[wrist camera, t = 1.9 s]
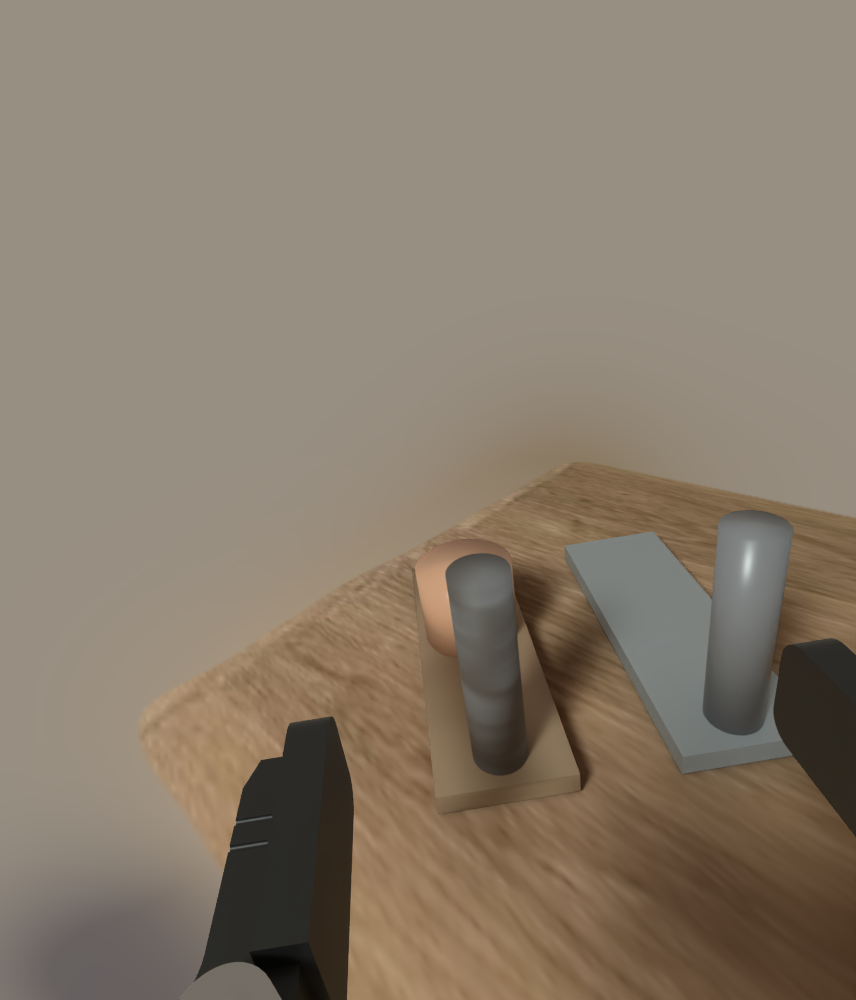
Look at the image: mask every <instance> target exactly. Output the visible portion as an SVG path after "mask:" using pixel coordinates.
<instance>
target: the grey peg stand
mask: <svg viewBox="0 0 856 1000" xmlns="http://www.w3.org/2000/svg"><path fill="white" fill-rule="evenodd" d="M792 535H793V527H792V525H791V524H790V523H789V522H788V521H787V520H785V519H784V518H782V517H780V516H777V515H775V514H772V513H768V512H763V511H754V510H743V511H735V512H731V513H728V514H726V515H724V516H723V517H722V518H721V519H720V520H719V525H718V537H717V548H716V559H715V571H714V582H713V593H712V599H711V598H710V597H709V596H708V595H707V593H706V592H705V591H704V590H703V589H702V588H701V586H700V585H699V584H698V583H697V582H696V581H695V579H694V578H693V577H692V576H691V575H690V574H689V572H688V571H687V570H686V569H685V568H684V567H683V565H682V564H681V563H680V562H679V561H678V560H677V558H676V557H675V556H674V555H673V554H672V553H671V552H670V550H669V549H668V548H667V547H666V546H665V545H664V543H663V542H662V541H661V540H660V539H659V538H658V536H657V535H656V534H655V533H654V532H647V533H641V534H634V535H628V536H622V537H616V538H610V539H604V540H597V541H591V542H585V543H579V544H573V545H567V546H565V559H566V561H567V563H568V565H569V567H570V569H571V570H572V572H573V574H574V576H575V578H576V580H577V581H578V583H579V585H580V587H581V589H582V591H583V593H584V594H585V596H586V598H587V600H588V602H589V604H590V605H591V607H592V609H593V611H594V613H595V615H596V617H597V618H598V620H599V622H600V624H601V626H602V628H603V629H604V631H605V633H606V635H607V637H608V639H609V641H610V642H611V644H612V646H613V648H614V650H615V652H616V653H617V655H618V657H619V659H620V661H621V663H622V665H623V666H624V668H625V670H626V672H627V674H628V676H629V677H630V679H631V681H632V683H633V685H634V687H635V689H636V690H637V692H638V694H639V696H640V698H641V700H642V701H643V703H644V705H645V707H646V709H647V711H648V712H649V714H650V716H651V718H652V720H653V722H654V724H655V725H656V727H657V729H658V731H659V733H660V735H661V736H662V738H663V740H664V742H665V744H666V746H667V748H668V749H669V751H670V753H671V755H672V757H673V759H674V760H675V762H676V764H677V766H678V768H679V770H680V772H681V773H682V774H685V773H691V772H697V771H703V770H709V769H715V768H721V767H727V766H733V765H739V764H745V763H751V762H757V761H763V760H769V759H775V758H781V757H788V756H793V755H792V753H791V752H790V751H789V750H788V748H787V747H786V745H785V744H784V742H783V741H782V739H781V737H780V735H779V733H778V730H777V728H776V725H775V721H774V715H773V707H774V700H775V694H776V688H777V682H778V676H777V675H776V674H775V672H774V671H773V670H772V666H773V659H774V653H775V646H776V640H777V633H778V627H779V620H780V613H781V607H782V600H783V594H784V587H785V581H786V574H787V568H788V561H789V554H790V548H791V541H792Z"/></svg>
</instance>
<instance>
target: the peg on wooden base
mask: <svg viewBox="0 0 856 1000" xmlns="http://www.w3.org/2000/svg"><path fill="white" fill-rule="evenodd" d="M412 574H413V583H414V593H415V603H416V613H417V623H418V633H419V642H420V652H421V662H422V672H423V682H424V692H425V701H426V711H427V721H428V731H429V741H430V751H431V761H432V770H433V780H434V790H435V799H436V804H437V809H438V814H444V813H450V812H456V811H462V810H468V809H474V808H480V807H486V806H492V805H498V804H504V803H510V802H516V801H522V800H528V799H534V798H541V797H547V796H553V795H559V794H565V793H571V792H577V791H581V785H580V772H579V770H578V767H577V764H576V761H575V759H574V756H573V753H572V750H571V747H570V745H569V742H568V739H567V736H566V734H565V731H564V728H563V725H562V723H561V720H560V717H559V714H558V712H557V709H556V706H555V703H554V701H553V698H552V695H551V692H550V689H549V687H548V684H547V681H546V678H545V676H544V673H543V670H542V667H541V665H540V662H539V659H538V656H537V654H536V651H535V648H534V645H533V643H532V640H531V637H530V634H529V631H528V629H527V626H526V623H525V620H524V618H523V615H522V612H521V609H520V607H519V604H518V601H517V598H516V596H515V602H516V613H517V624H518V629H517V628H516V617H515V606H514V595H513V584H512V574H511V566H510V564H509V562H508V561H507V560H506V559H504V558H502V557H500V556H498V555H494V554H489V553H476V554H470V555H466V556H463V557H461V558H458V559H457V560H455V561H453V562H452V563H451V564H450V565H449V566H448V567H447V569H446V572H445V577H446V583H447V590H448V596H449V603H450V610H451V616H452V623H453V629H454V636H455V643H456V649H457V656H458V659H455V658H451V657H447V656H445V655H442V654H441V653H439V652H437V651H436V650H435V649H434V648H433V647H432V646H431V645H430V644H429V642H428V640H427V636H426V630H425V624H424V619H423V613H422V607H421V602H420V596H419V590H418V585H417V579H416V573H415V570H412Z"/></svg>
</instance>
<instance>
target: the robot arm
mask: <svg viewBox="0 0 856 1000" xmlns="http://www.w3.org/2000/svg"><path fill="white" fill-rule="evenodd" d="M773 715H774V721H775V725H776V728H777V730H778V733H779V735H780V737H781V739H782V741H783V742H784V744H785V745H786V747H787V748H788V750H789V751H790V752H791V753H792V755H793V756H794V757H795V759H796V760H797V761H798V763H799V764H800V765H801V766H802V768H803V769H804V770H805V772H806V773H807V774H808V776H809V777H810V778H811V779H812V781H813V782H814V783H815V785H816V786H817V787H818V788H819V790H820V791H821V792H822V794H823V795H824V796H825V798H826V799H827V800H828V801H829V803H830V804H831V805H832V807H833V808H834V809H835V811H836V812H837V813H838V814H839V816H840V817H841V818H842V820H843V821H844V822H845V824H846V825H847V826H848V827H849V829H850V830H851V831H852V833H853V834H854V835H855V837H856V655H855V654H854V653H853V652H852V651H851V650H850V649H849V648H847V647H846V646H845V645H844V644H843V643H842V642H840V641H838V640H836V639H832V638H830V639H823V640H817V641H811V642H805V643H798V644H792V645H788V646H786V647H785V648H784V650H783V652H782V657H781V663H780V669H779V675H778V682H777V688H776V694H775V700H774V707H773ZM353 818H354V804H353V791H352V783H351V778H350V773H349V770H348V766H347V762H346V759H345V755H344V751H343V748H342V744H341V741H340V737H339V733H338V730H337V726H336V723H335V720H334V718H333V717H325V718H319V719H313V720H306V721H300V722H294V723H290V724H289V726H288V729H287V734H286V739H285V745H284V751H283V757H278V758H272V759H265V760H261V761H260V763H259V764H258V766H257V768H256V769H255V771H254V772H253V774H252V775H251V777H250V778H249V780H248V782H247V783H246V785H245V786H244V788H243V791H242V795H241V799H240V804H239V808H238V812H237V817H236V826H234V830H233V834H232V838H231V843H230V852H228V855H227V860H226V864H225V868H224V873H223V877H222V881H221V886H220V890H219V894H218V899H217V903H216V907H215V912H214V916H213V921H212V925H211V929H210V934H209V938H208V942H207V946H206V951H205V955H204V958H203V962H202V965H201V967H200V970H199V972H198V975H197V977H196V979H195V981H194V982H193V984H192V985H191V986H190V987H189V988H188V989H187V990H186V991H185V992H184V993H183V995H182V996H181V997H180V998H179V999H178V1000H347V980H348V953H349V926H350V899H351V872H352V845H353Z"/></svg>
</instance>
